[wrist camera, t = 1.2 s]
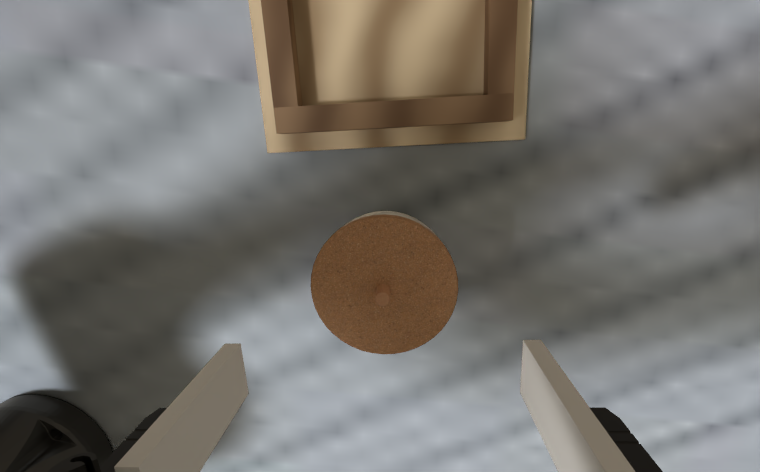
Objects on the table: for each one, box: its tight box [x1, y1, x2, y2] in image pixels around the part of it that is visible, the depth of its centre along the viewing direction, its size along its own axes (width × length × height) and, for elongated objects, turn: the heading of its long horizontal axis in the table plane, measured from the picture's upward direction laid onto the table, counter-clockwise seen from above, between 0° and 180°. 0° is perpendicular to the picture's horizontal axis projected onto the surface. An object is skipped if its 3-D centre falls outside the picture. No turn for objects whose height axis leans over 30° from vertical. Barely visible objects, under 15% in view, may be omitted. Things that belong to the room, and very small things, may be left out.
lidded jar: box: [311, 211, 458, 354], centre depth 28 cm, size 11×11×9 cm
